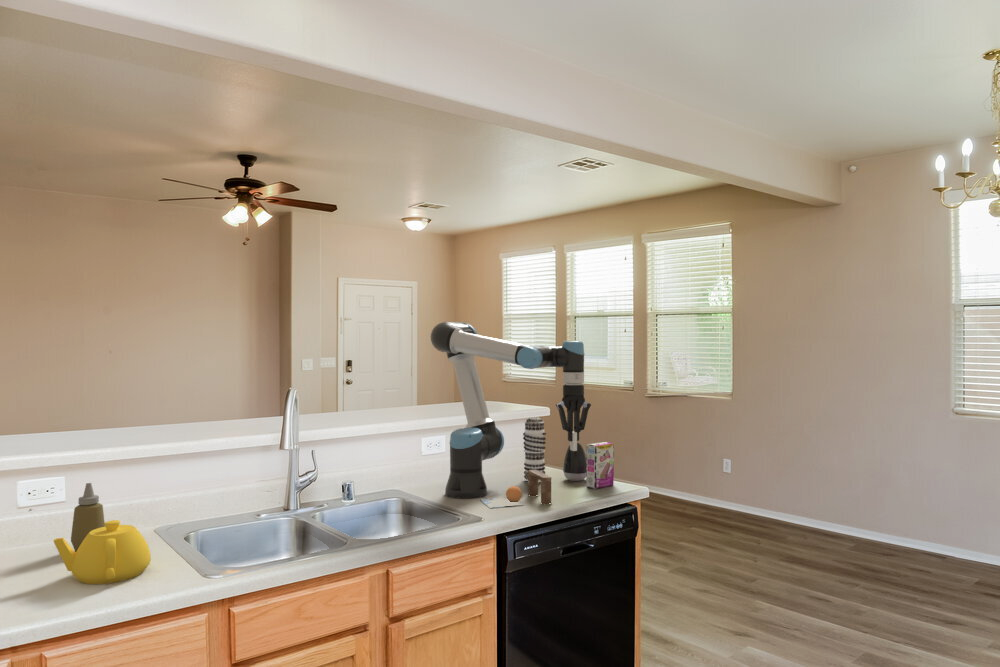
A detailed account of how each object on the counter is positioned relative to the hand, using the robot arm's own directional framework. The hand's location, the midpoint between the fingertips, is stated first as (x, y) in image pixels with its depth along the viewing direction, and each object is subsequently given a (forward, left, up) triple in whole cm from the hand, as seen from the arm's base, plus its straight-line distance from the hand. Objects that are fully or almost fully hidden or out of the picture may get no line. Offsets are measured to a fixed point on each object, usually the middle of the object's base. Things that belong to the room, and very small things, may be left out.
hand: (573, 450), depth 239 cm
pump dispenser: (-27, +13, -17) cm, 34 cm away
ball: (+1, -23, -14) cm, 27 cm away
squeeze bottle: (+15, -148, -17) cm, 150 cm away
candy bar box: (-13, +17, -17) cm, 27 cm away
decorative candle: (-31, -3, -17) cm, 35 cm away
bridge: (0, -13, -17) cm, 21 cm away
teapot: (+39, -139, -17) cm, 146 cm away
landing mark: (0, -27, -17) cm, 32 cm away
